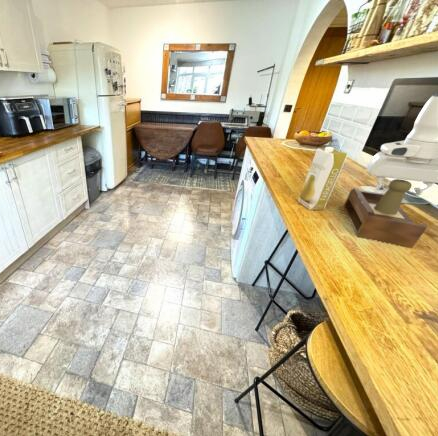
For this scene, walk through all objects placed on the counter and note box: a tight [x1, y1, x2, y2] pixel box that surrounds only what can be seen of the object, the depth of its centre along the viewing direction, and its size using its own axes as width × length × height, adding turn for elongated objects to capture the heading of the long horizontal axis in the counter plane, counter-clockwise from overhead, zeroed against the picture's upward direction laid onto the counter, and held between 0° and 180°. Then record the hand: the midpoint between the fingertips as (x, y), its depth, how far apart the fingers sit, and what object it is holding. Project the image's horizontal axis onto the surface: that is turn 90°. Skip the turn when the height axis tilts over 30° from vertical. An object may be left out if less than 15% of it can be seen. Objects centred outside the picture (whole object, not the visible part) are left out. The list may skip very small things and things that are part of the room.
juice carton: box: [297, 146, 349, 211], centre depth 93 cm, size 9×8×24 cm
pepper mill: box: [374, 178, 412, 215], centre depth 80 cm, size 6×6×11 cm
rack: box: [342, 187, 428, 249], centre depth 84 cm, size 14×24×9 cm, turn 154°
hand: (397, 191), depth 79 cm, fingers open, 8 cm apart
